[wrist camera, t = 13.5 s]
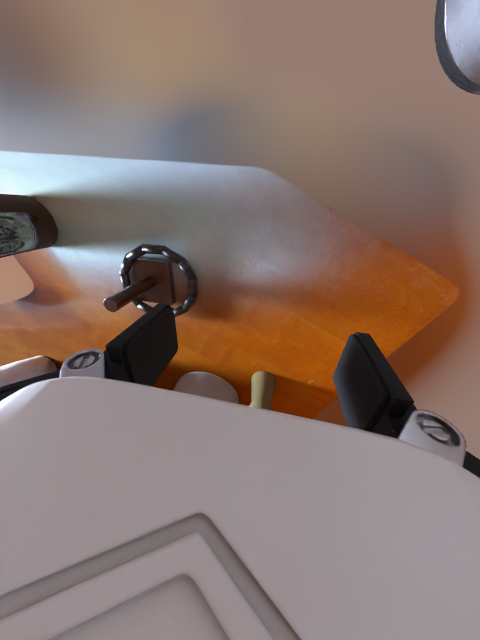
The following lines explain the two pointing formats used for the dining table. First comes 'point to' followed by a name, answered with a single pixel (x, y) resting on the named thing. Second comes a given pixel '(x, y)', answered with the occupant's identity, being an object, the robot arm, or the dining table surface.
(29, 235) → the olive oil
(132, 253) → the ring
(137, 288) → the peg
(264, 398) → the wooden peg doll
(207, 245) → the dining table surface
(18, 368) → the vase
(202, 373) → the container
